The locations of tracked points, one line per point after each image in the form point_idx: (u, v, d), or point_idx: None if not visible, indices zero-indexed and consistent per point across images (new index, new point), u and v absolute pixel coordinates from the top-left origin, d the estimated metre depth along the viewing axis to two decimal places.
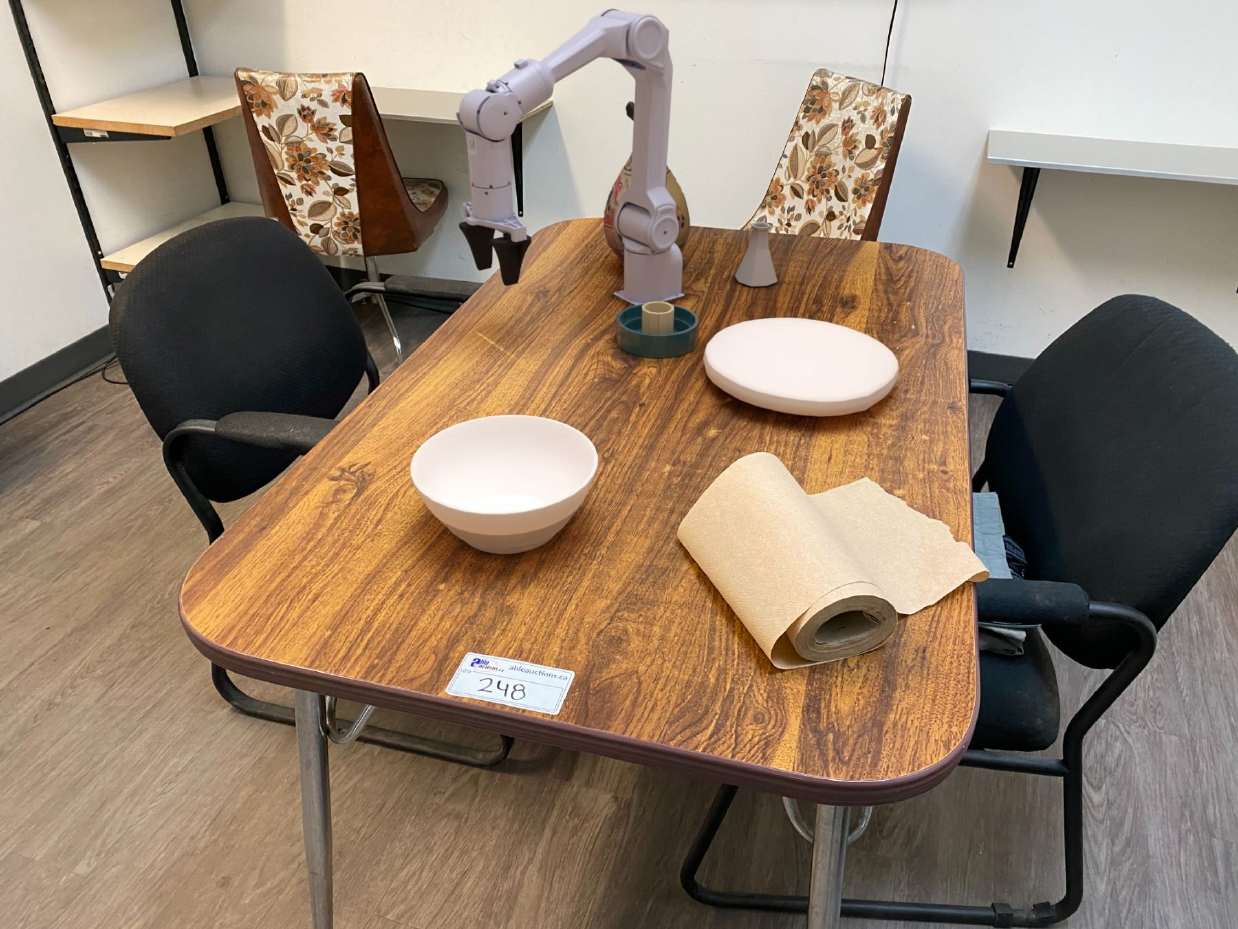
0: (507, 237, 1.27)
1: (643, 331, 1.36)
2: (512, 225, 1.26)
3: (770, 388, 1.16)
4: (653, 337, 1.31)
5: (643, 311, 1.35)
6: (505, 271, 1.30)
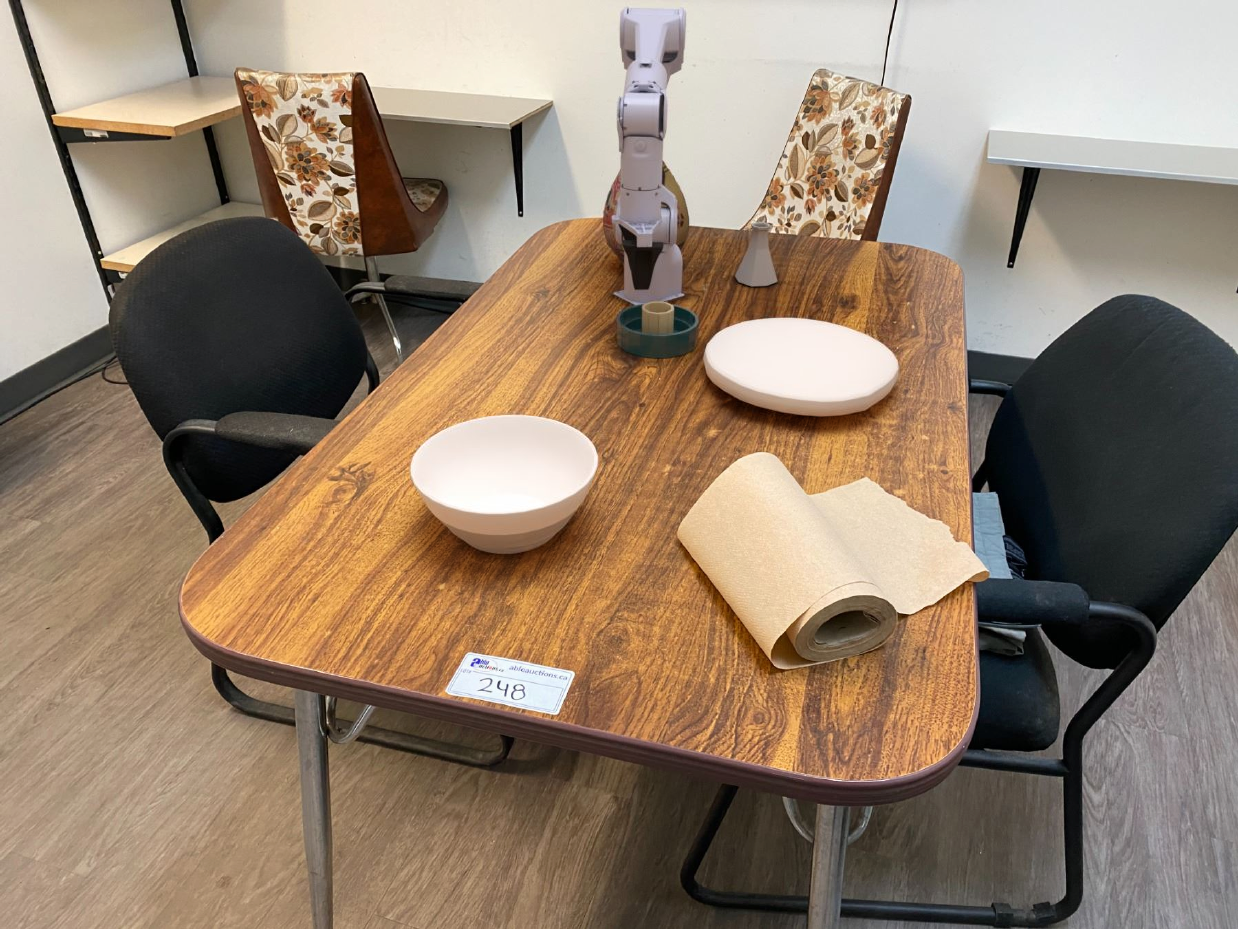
0: (637, 241, 1.25)
1: (643, 331, 1.36)
2: (642, 230, 1.24)
3: (770, 388, 1.16)
4: (653, 337, 1.31)
5: (643, 311, 1.35)
6: (634, 275, 1.28)
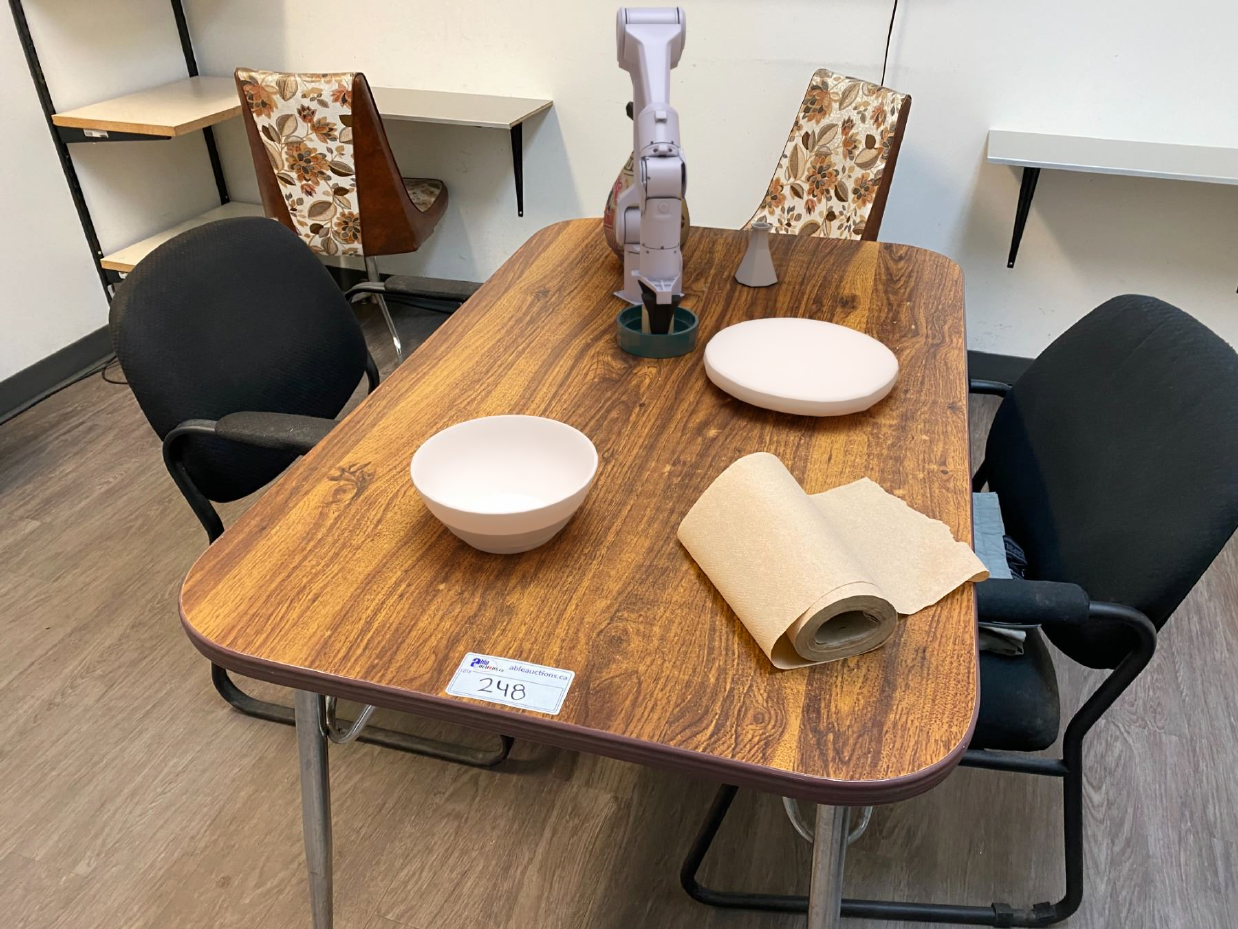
0: (655, 294, 1.30)
1: (643, 331, 1.36)
2: (661, 287, 1.28)
3: (770, 388, 1.16)
4: (653, 337, 1.31)
5: (643, 311, 1.35)
6: (652, 325, 1.33)
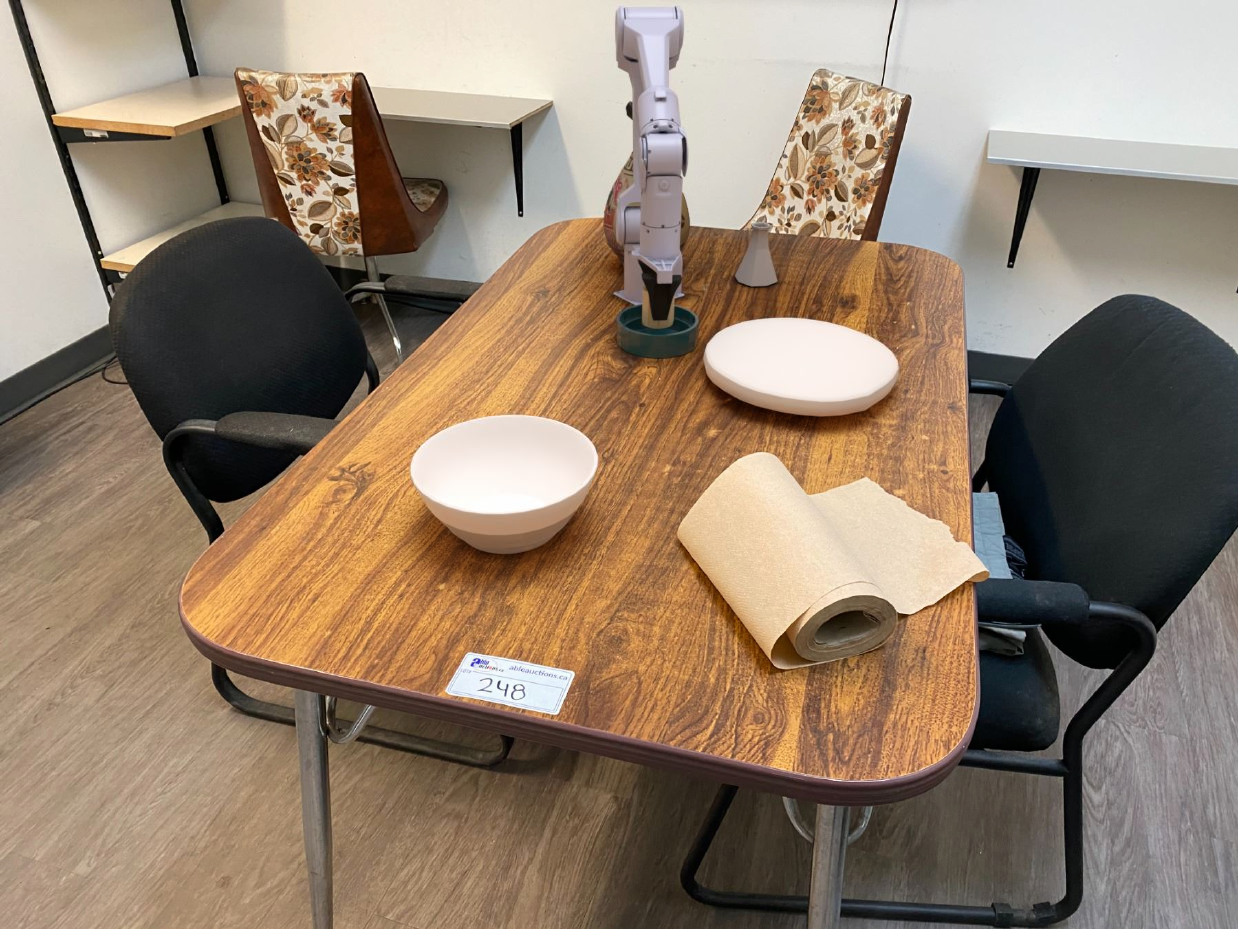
0: (656, 274, 1.28)
1: (643, 312, 1.35)
2: (662, 266, 1.26)
3: (770, 388, 1.16)
4: (653, 337, 1.31)
5: (643, 292, 1.33)
6: (652, 306, 1.32)
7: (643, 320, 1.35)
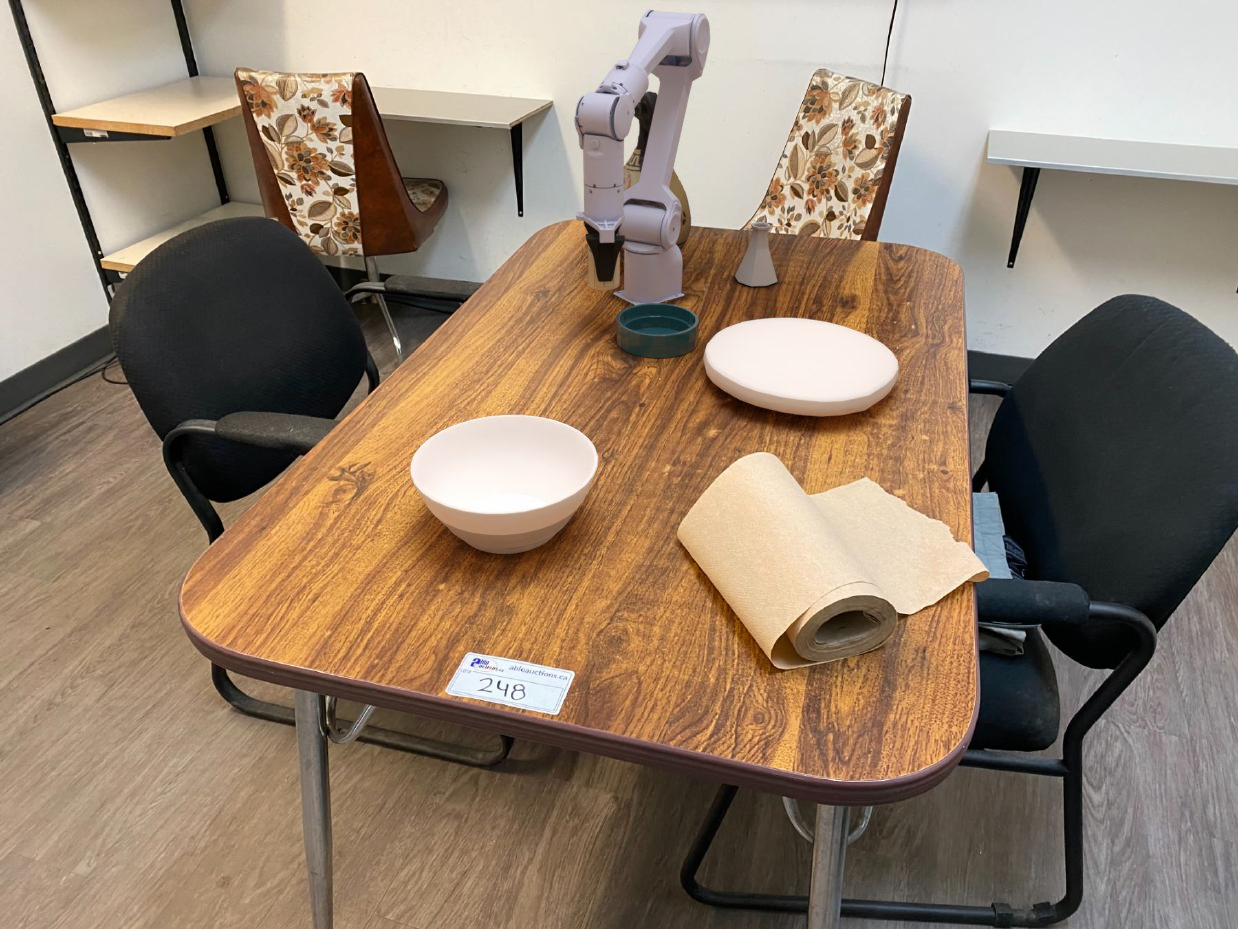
0: (599, 234, 1.30)
1: (589, 274, 1.36)
2: (605, 226, 1.28)
3: (770, 388, 1.16)
4: (653, 337, 1.31)
5: (589, 253, 1.35)
6: (597, 267, 1.33)
7: (589, 282, 1.37)
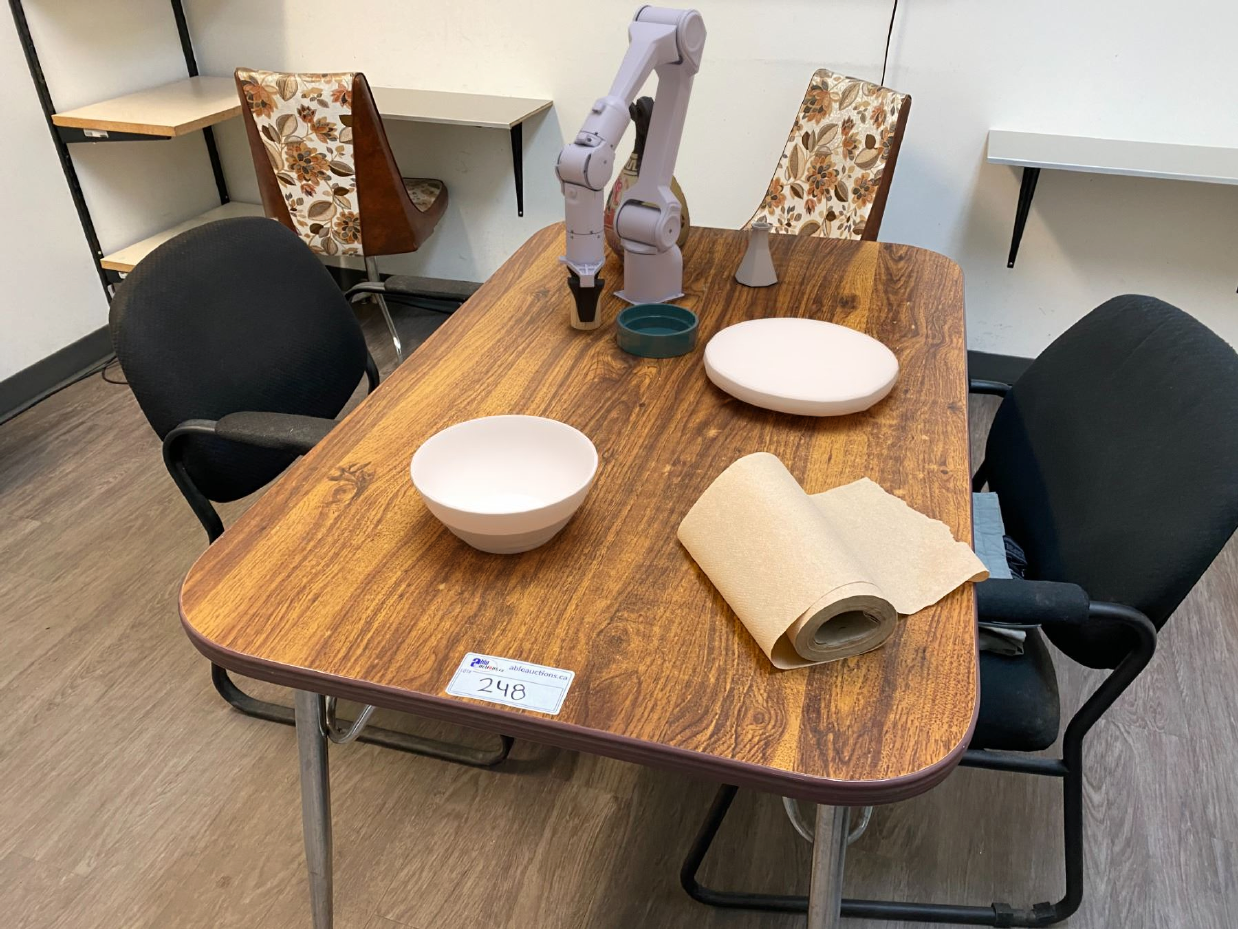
0: None
1: (571, 314, 1.41)
2: (585, 271, 1.33)
3: (770, 388, 1.16)
4: (653, 337, 1.31)
5: (571, 295, 1.40)
6: (579, 308, 1.38)
7: (571, 322, 1.42)
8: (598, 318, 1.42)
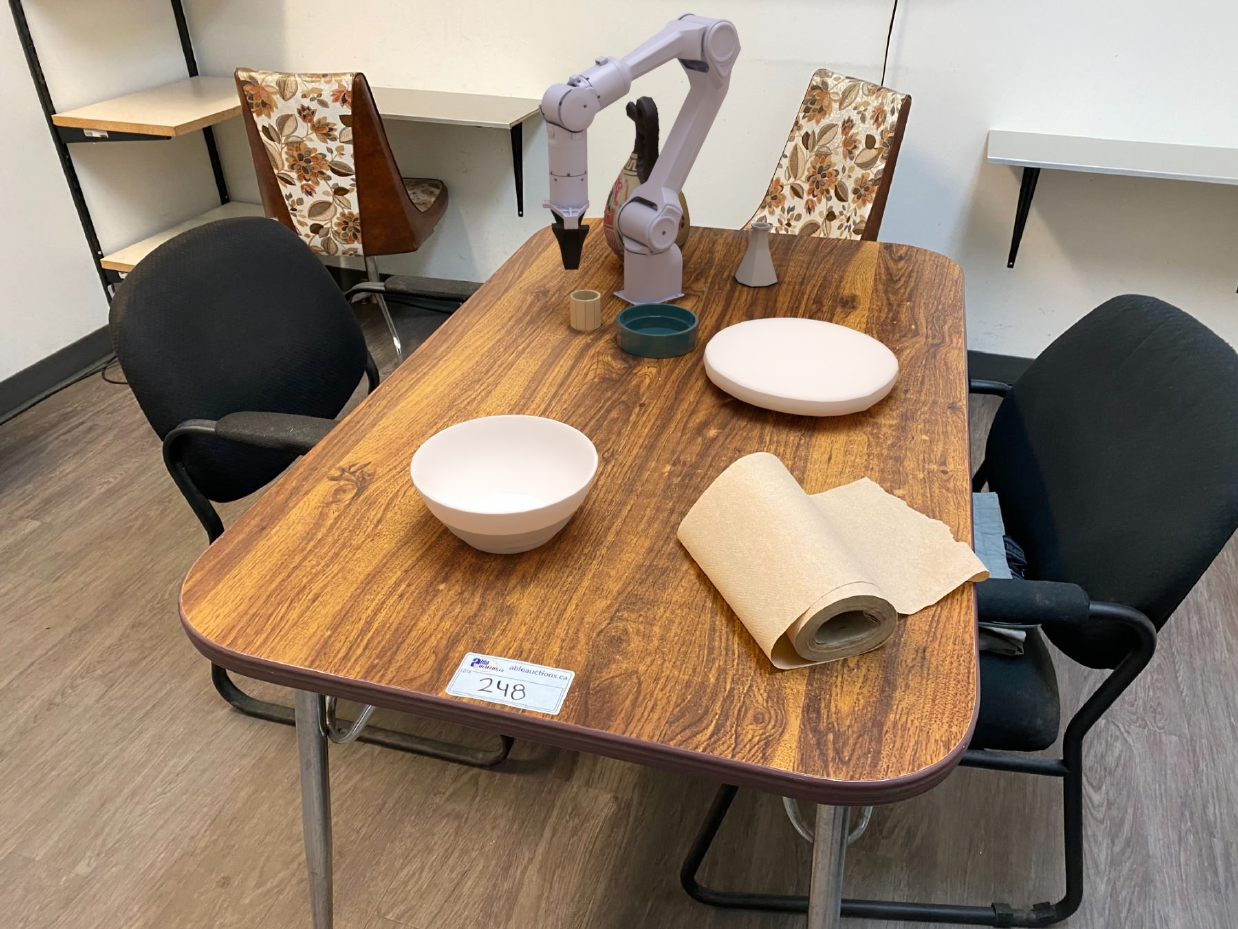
0: None
1: (571, 318, 1.42)
2: (569, 213, 1.33)
3: (770, 388, 1.16)
4: (653, 337, 1.31)
5: (571, 299, 1.40)
6: (563, 255, 1.37)
7: (571, 325, 1.42)
8: (598, 322, 1.42)
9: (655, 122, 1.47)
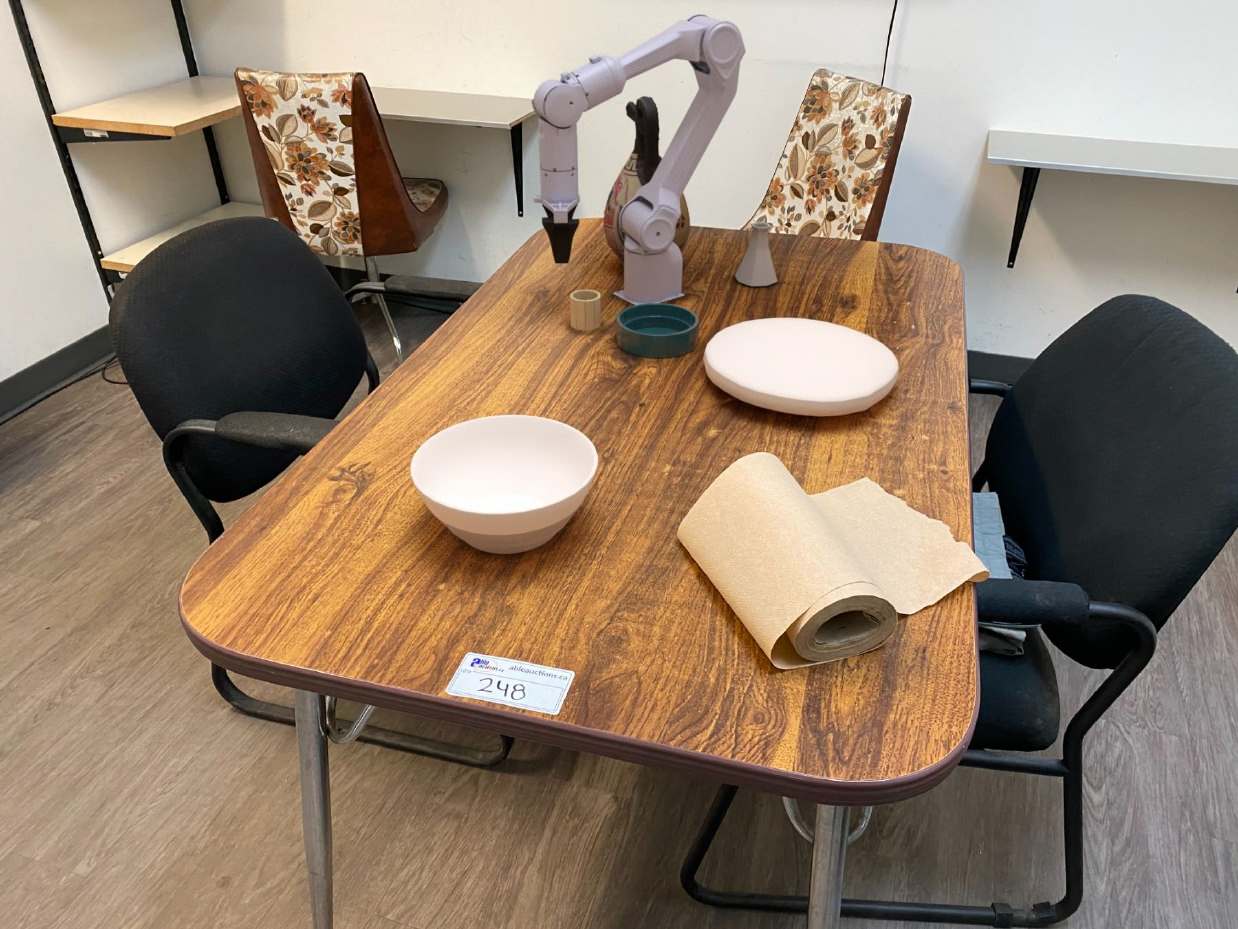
0: None
1: (571, 318, 1.42)
2: (559, 207, 1.35)
3: (770, 388, 1.16)
4: (653, 337, 1.31)
5: (571, 299, 1.40)
6: (554, 249, 1.40)
7: (571, 325, 1.42)
8: (598, 322, 1.42)
9: (655, 122, 1.47)
